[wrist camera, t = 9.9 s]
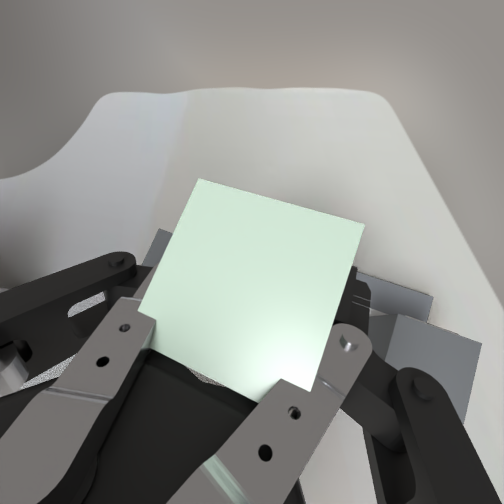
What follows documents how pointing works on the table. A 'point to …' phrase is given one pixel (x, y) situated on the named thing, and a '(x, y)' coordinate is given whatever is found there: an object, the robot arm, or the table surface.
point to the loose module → (250, 288)
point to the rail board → (402, 333)
